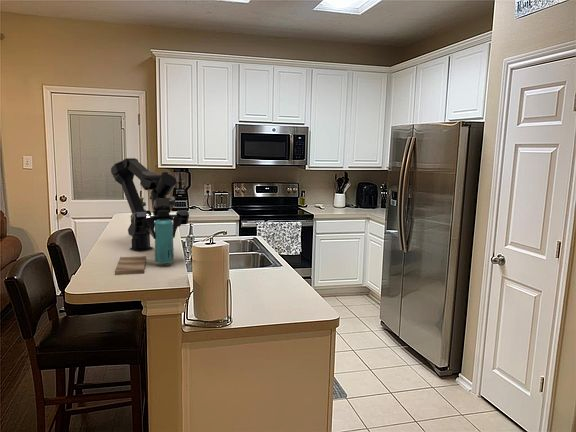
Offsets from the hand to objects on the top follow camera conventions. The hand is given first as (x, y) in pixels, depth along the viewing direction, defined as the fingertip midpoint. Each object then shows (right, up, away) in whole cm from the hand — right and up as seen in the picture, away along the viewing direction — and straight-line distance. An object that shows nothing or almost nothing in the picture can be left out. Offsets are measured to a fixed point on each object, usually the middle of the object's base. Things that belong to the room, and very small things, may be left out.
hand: (164, 237), depth 149 cm
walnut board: (-11, -10, -1) cm, 15 cm away
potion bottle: (-25, -2, +47) cm, 53 cm away
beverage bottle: (-1, -10, +2) cm, 10 cm away
